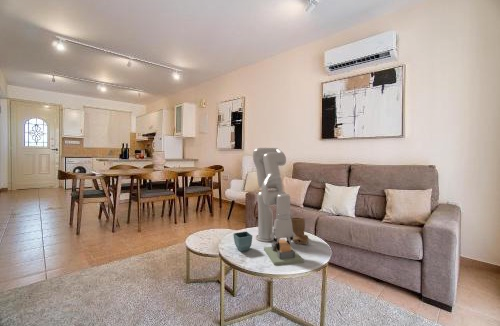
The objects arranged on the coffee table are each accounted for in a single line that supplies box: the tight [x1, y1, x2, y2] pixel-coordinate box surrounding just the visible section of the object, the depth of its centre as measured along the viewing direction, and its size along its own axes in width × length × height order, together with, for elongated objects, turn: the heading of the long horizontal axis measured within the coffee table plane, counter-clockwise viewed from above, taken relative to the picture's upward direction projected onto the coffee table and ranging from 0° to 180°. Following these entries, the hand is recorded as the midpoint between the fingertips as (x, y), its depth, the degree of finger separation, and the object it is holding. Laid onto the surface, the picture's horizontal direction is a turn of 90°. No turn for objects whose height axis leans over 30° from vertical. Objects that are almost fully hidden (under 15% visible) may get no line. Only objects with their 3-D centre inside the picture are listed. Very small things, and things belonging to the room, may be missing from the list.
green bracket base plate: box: [263, 242, 305, 266], centre depth 138 cm, size 20×16×4 cm
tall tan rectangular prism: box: [277, 238, 292, 252], centre depth 138 cm, size 10×5×5 cm, turn 12°
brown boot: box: [290, 216, 309, 245], centre depth 161 cm, size 15×12×15 cm
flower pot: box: [233, 231, 253, 252], centre depth 147 cm, size 9×9×9 cm
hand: (282, 249), depth 138 cm, fingers closed on tall tan rectangular prism, 5 cm apart
